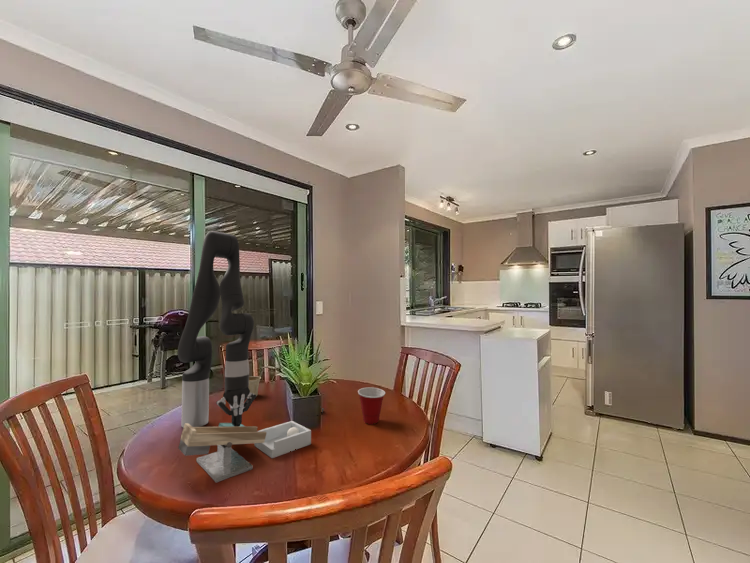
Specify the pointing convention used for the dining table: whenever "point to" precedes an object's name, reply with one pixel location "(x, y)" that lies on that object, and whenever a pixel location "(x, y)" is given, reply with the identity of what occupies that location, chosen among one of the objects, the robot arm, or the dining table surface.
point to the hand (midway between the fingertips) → (236, 425)
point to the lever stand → (223, 463)
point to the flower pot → (254, 384)
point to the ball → (292, 431)
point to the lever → (217, 437)
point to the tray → (283, 439)
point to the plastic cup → (371, 403)
